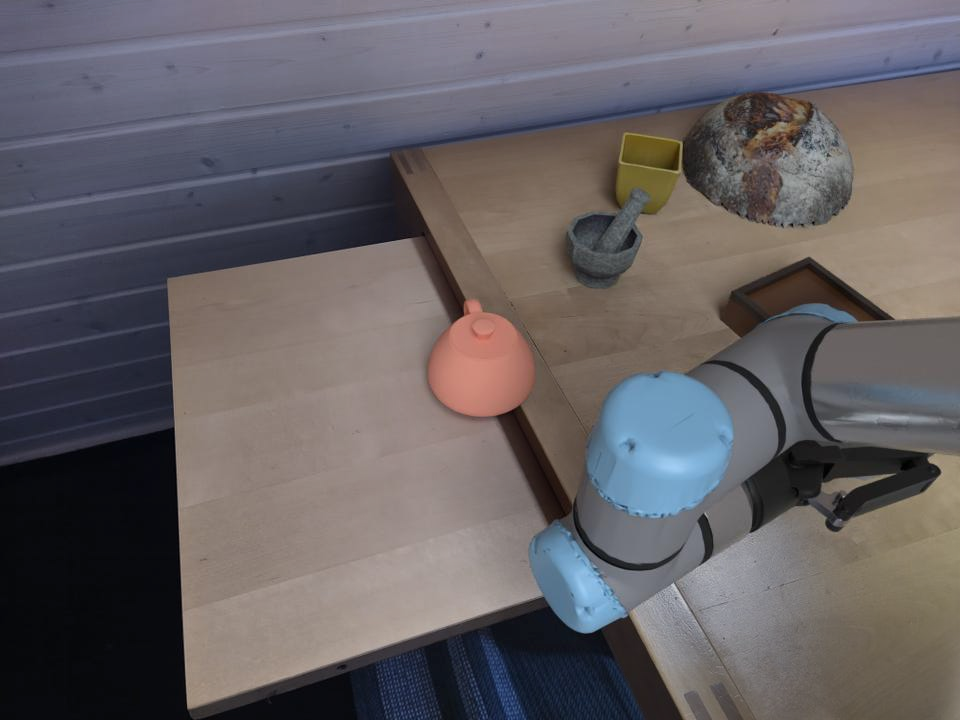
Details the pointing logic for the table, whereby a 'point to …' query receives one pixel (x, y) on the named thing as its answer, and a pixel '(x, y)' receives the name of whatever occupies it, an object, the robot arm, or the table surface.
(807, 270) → the brown wooden tray
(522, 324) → the table surface
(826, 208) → the bread
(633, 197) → the mortar and pestle
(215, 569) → the table surface
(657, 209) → the flower pot
